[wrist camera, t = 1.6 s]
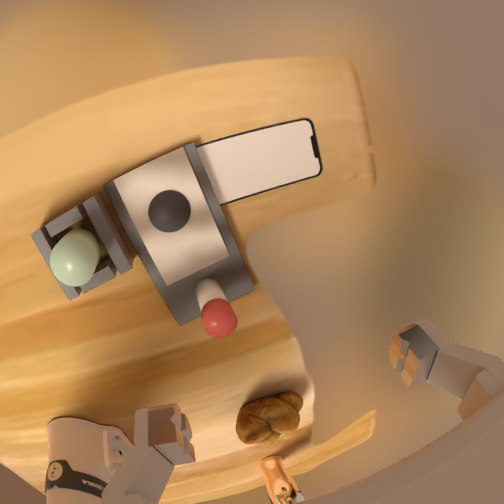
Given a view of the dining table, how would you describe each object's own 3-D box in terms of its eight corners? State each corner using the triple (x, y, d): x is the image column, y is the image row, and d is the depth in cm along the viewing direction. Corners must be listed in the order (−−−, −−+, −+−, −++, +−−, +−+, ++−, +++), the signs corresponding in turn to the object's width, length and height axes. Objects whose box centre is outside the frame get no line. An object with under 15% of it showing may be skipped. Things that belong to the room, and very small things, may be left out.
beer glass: (287, 452, 59) (313, 501, 45) (278, 467, 60) (301, 513, 47) (260, 456, 56) (284, 508, 43) (251, 470, 58) (272, 520, 45)
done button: (108, 259, 31) (103, 273, 28) (74, 278, 31) (66, 293, 27) (87, 220, 29) (79, 230, 26) (52, 241, 28) (41, 253, 25)
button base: (133, 259, 35) (131, 268, 32) (74, 289, 33) (69, 300, 31) (99, 192, 31) (94, 196, 28) (39, 227, 30) (30, 234, 27)
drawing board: (253, 286, 41) (256, 290, 40) (179, 321, 39) (180, 327, 38) (192, 142, 32) (194, 141, 31) (104, 184, 31) (102, 185, 30)
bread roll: (295, 378, 50) (315, 409, 43) (300, 408, 54) (318, 437, 46) (225, 404, 47) (238, 439, 40) (239, 432, 51) (251, 464, 44)
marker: (225, 294, 39) (242, 328, 32) (201, 306, 38) (213, 342, 31) (214, 273, 37) (230, 304, 30) (189, 284, 37) (199, 319, 30)
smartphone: (204, 211, 36) (322, 174, 39) (205, 212, 35) (324, 174, 38) (185, 148, 33) (309, 116, 35) (185, 148, 32) (311, 116, 35)
